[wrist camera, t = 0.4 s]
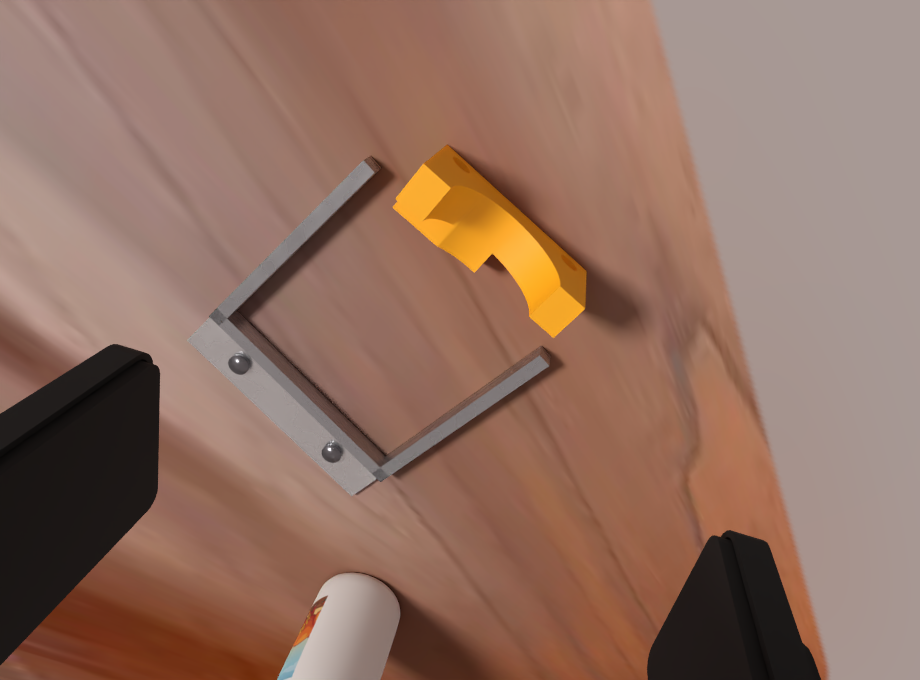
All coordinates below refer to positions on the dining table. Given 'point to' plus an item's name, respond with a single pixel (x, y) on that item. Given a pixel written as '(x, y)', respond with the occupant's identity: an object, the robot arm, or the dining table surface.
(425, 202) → the pipe clamp
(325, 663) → the milk bottle
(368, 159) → the hinge bracket
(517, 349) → the dining table surface
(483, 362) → the dining table surface
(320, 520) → the dining table surface
